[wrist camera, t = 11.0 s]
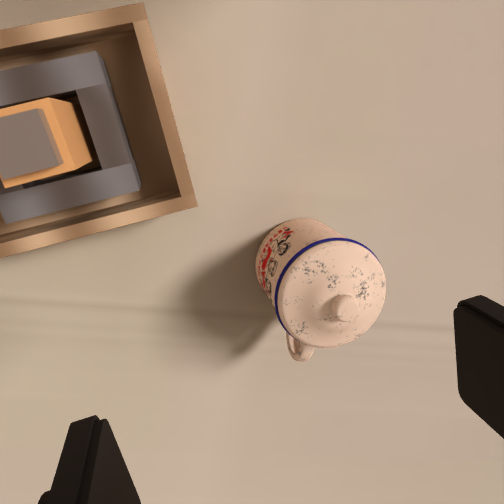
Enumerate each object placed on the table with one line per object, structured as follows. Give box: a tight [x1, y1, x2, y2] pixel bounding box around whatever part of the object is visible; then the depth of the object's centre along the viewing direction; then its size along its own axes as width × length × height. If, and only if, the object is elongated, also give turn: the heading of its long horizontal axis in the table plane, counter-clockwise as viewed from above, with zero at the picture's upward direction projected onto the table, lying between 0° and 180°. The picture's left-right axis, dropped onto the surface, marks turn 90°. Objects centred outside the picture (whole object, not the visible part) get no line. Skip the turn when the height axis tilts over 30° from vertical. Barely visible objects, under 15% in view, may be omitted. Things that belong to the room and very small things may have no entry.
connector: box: [0, 97, 98, 188], centre depth 27 cm, size 4×4×11 cm
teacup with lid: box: [255, 219, 386, 362], centre depth 36 cm, size 12×9×12 cm
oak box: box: [0, 3, 198, 258], centre depth 31 cm, size 17×14×6 cm
